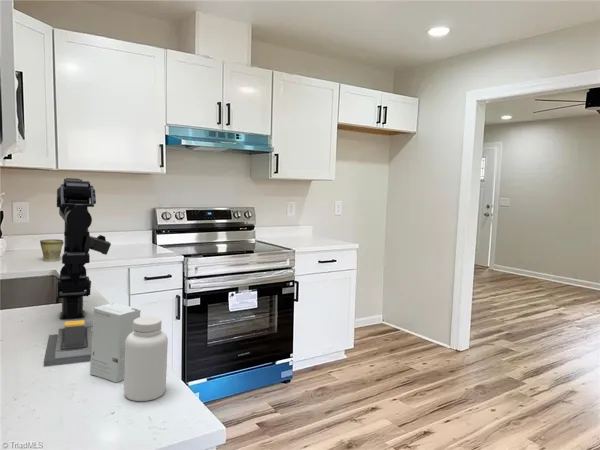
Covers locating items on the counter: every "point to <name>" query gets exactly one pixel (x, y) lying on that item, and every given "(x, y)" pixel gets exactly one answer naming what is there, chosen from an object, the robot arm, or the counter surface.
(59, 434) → the counter surface
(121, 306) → the skincare box
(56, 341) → the grey shallow rectangular piece
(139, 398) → the pill bottle
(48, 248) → the ceramic cup
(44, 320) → the counter surface
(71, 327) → the breaker handle
